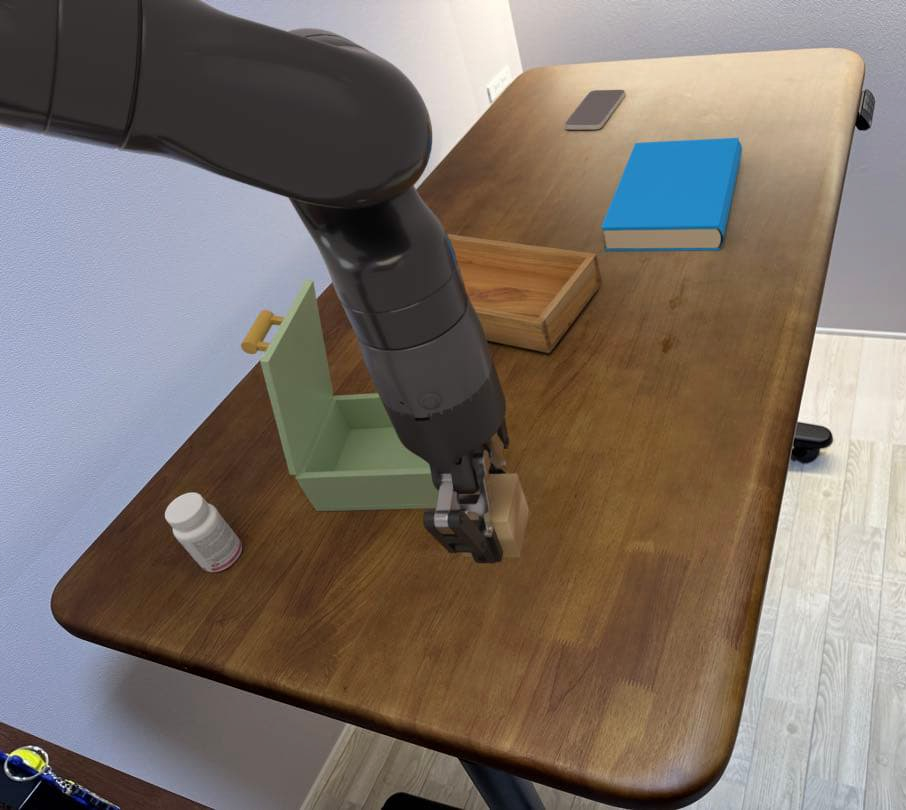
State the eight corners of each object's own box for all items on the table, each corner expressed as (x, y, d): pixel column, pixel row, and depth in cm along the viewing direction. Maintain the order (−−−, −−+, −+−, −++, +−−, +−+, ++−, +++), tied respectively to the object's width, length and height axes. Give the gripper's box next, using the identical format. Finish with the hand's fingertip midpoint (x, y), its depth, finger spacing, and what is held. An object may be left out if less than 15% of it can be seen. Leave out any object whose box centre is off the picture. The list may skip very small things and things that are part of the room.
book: (600, 228, 110) (633, 140, 126) (605, 253, 113) (636, 165, 129) (724, 225, 104) (741, 134, 121) (725, 252, 107) (742, 159, 124)
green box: (470, 423, 92) (457, 388, 88) (448, 508, 83) (432, 473, 80) (349, 429, 96) (331, 395, 92) (316, 511, 87) (294, 477, 83)
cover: (313, 280, 80) (269, 274, 80) (268, 361, 71) (219, 355, 71) (333, 393, 91) (295, 388, 92) (296, 475, 83) (254, 469, 83)
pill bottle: (250, 537, 86) (214, 488, 80) (232, 574, 83) (193, 526, 77) (212, 536, 87) (174, 489, 81) (193, 573, 84) (152, 526, 78)
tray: (367, 318, 112) (353, 286, 108) (426, 258, 121) (415, 227, 117) (550, 359, 98) (541, 323, 94) (603, 288, 106) (597, 253, 102)
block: (520, 557, 59) (507, 521, 56) (463, 557, 60) (447, 521, 57) (529, 509, 62) (517, 473, 59) (475, 510, 63) (460, 474, 60)
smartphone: (626, 89, 149) (600, 125, 140) (627, 94, 150) (600, 130, 140) (590, 90, 152) (562, 125, 143) (591, 94, 153) (563, 130, 143)
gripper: (406, 303, 55) (468, 462, 66) (343, 455, 45) (428, 611, 56) (509, 295, 53) (554, 460, 65) (466, 452, 43) (528, 614, 55)
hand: (495, 530), depth 61 cm, fingers closed on block, 4 cm apart
